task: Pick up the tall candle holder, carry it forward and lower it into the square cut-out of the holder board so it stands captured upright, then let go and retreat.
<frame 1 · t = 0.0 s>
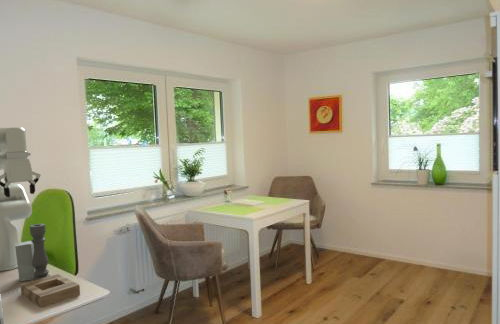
hand: (20, 195, 168), 37 cm above the table, tool pointing down, fingers open, 9 cm apart
holder board: (50, 294, 150), on the table
candle holder: (42, 284, 162), on the table
skincare box: (29, 278, 170), on the table
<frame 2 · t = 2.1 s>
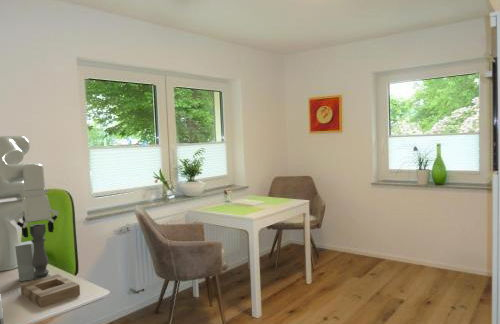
hand: (38, 234, 160), 21 cm above the table, tool pointing down, fingers open, 9 cm apart
nothing on the table moved.
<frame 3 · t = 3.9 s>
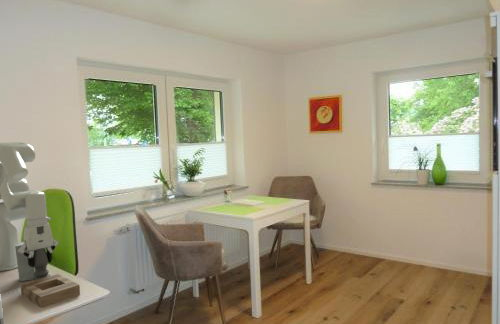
hand: (40, 263, 161), 9 cm above the table, tool pointing down, fingers closed on candle holder, 6 cm apart
candle holder: (42, 284, 162), on the table, touching gripper
everything else where it was.
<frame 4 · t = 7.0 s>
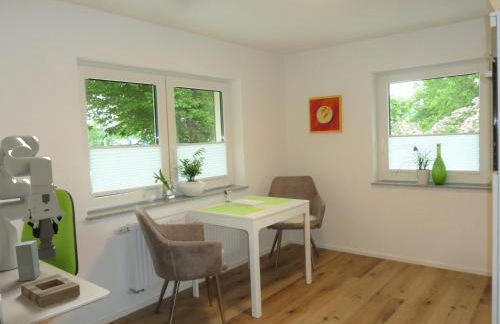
hand: (45, 235, 148), 23 cm above the table, tool pointing down, fingers closed on candle holder, 6 cm apart
candle holder: (47, 257, 149), point 15 cm above the table, touching gripper
everything else where it was.
when the fingers open (10 cm above the table, at t = 10.0 s): candle holder drops 1 cm, resting in holder board.
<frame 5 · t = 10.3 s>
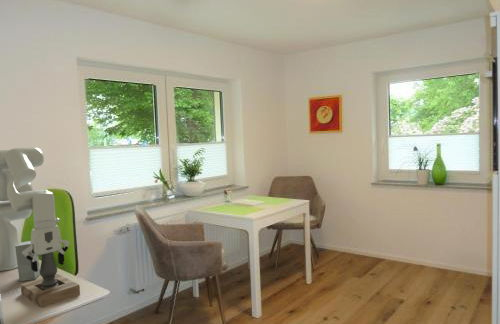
hand: (48, 267, 149), 11 cm above the table, tool pointing down, fingers open, 9 cm apart
candle holder: (50, 294, 150), resting in holder board
everything else where it was.
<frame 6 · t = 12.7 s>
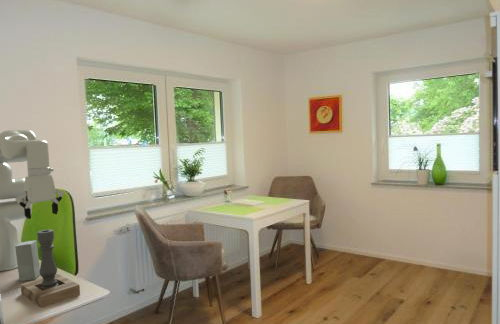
hand: (42, 215, 150), 31 cm above the table, tool pointing down, fingers open, 9 cm apart
nothing on the table moved.
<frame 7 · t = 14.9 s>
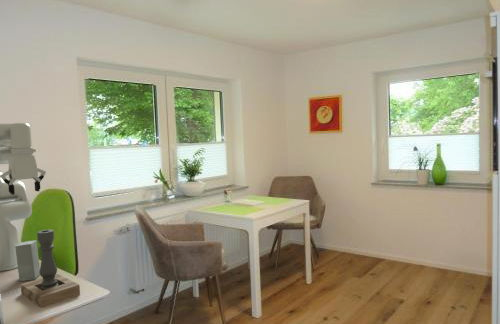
hand: (25, 192, 164), 38 cm above the table, tool pointing down, fingers open, 9 cm apart
nothing on the table moved.
at the end: candle holder 0.2 cm off-centre on the holder board, point 0.0 cm above the holder board's base; candle holder tilted 0°; the gripper is holding nothing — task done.
